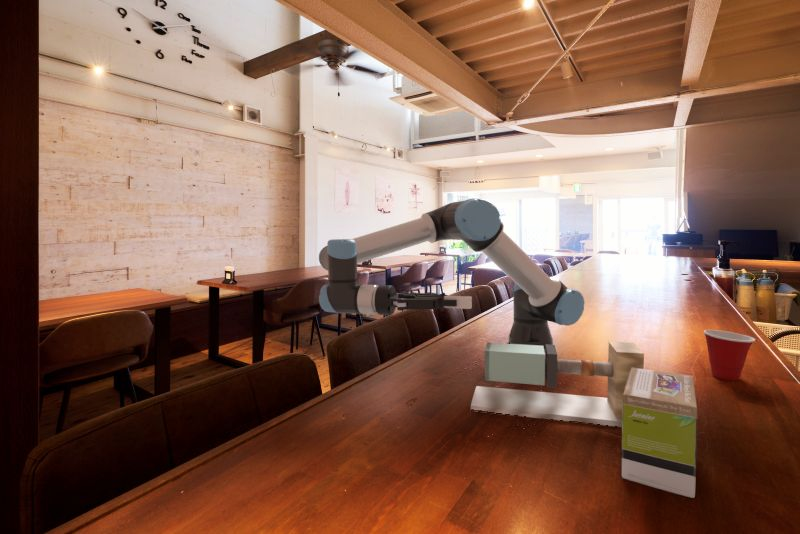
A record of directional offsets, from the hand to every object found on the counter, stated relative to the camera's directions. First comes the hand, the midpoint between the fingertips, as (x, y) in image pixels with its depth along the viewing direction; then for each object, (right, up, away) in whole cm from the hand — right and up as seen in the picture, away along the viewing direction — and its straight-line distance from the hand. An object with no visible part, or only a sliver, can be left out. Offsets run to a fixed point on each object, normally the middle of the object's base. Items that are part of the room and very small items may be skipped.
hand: (471, 302), depth 94 cm
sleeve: (+10, -17, -1) cm, 20 cm away
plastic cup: (+72, -21, +13) cm, 76 cm away
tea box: (+27, -26, -26) cm, 46 cm away
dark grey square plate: (+17, -18, -4) cm, 25 cm away
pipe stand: (+18, -24, -3) cm, 30 cm away
